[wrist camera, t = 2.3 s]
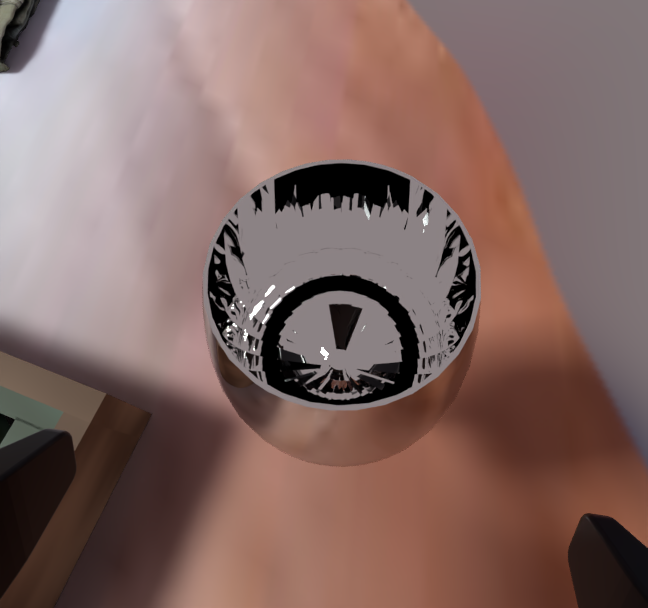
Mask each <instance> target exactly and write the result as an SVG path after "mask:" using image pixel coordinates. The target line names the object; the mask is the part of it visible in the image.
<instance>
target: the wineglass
mask: <svg viewBox="0 0 648 608" xmlns="http://www.w3.org/2000/svg"><path fill="white" fill-rule="evenodd" d="M202 303H203V319H204V329H205V335H206V341H207V345H208V349H209V354H210V358H211V362H212V365H213V367H214V370H215V373H216V375H217V378H218V380H219V383H220V386H221V388H222V390H223V392H224V393H225V395H226V396H227V398H228V399H229V401H230V403H231V404H232V406H233V407H234V409H235V410H236V412H237V414H238V415H239V417H240V418H241V419H242V420H243V421H244V422H245V423H246V424H247V425H248V426H249V427H250V428H251V429H252V430H253V431H254V432H255V433H256V434H258V435H259V436H260V437H261V438H262V439H263V440H264V441H266V442H267V443H269V444H270V445H272V446H273V447H275V448H276V449H278V450H280V451H281V452H283V453H285V454H287V455H289V456H291V457H294V458H297V459H299V460H302V461H305V462H309V463H313V464H318V465H324V466H334V467H348V466H359V465H365V464H369V463H374V462H378V461H380V460H383V459H386V458H389V457H391V456H393V455H395V454H397V453H400V452H402V451H404V450H405V449H407V448H408V447H410V446H411V445H413V444H414V443H415V442H417V441H418V440H419V439H421V438H422V437H423V436H425V435H426V434H427V433H428V432H429V431H430V430H431V429H432V428H433V427H434V426H435V425H436V424H437V423H438V422H439V421H440V420H441V418H442V417H443V415H444V414H445V413H446V411H447V410H448V409H449V407H450V406H451V404H452V403H453V402H454V400H455V399H456V397H457V395H458V392H459V390H460V388H461V386H462V383H463V381H464V379H465V376H466V374H467V372H468V370H469V367H470V364H471V360H472V356H473V352H474V348H475V344H476V340H477V336H478V330H479V318H480V306H481V281H480V265H479V261H478V258H477V255H476V251H475V248H474V244H473V241H472V239H471V237H470V235H469V233H468V232H467V230H466V228H465V227H464V225H463V223H462V221H461V220H460V218H459V216H458V215H457V214H456V213H455V212H454V210H453V209H452V208H451V207H450V206H449V205H448V204H447V203H446V202H445V201H444V200H443V199H442V198H441V197H440V196H439V195H438V194H437V193H436V192H434V191H433V190H431V189H430V188H429V187H427V186H426V185H424V184H423V183H421V182H420V181H418V180H417V179H415V178H414V177H412V176H410V175H408V174H406V173H404V172H401V171H399V170H396V169H393V168H391V167H388V166H385V165H380V164H376V163H372V162H366V161H357V160H325V161H319V162H313V163H307V164H303V165H300V166H297V167H294V168H291V169H288V170H285V171H282V172H280V173H278V174H277V175H275V176H273V177H271V178H269V179H267V180H265V181H263V182H261V183H260V184H259V185H257V186H256V187H255V188H253V189H252V190H251V191H250V192H248V193H247V194H246V195H245V196H243V197H242V198H241V199H240V200H239V201H238V202H237V203H236V204H235V206H234V207H233V208H232V209H231V210H230V212H229V213H228V214H227V215H226V216H225V217H224V219H223V220H222V222H221V224H220V226H219V228H218V230H217V232H216V234H215V235H214V237H213V239H212V241H211V243H210V246H209V250H208V254H207V259H206V263H205V267H204V271H203V284H202Z"/></svg>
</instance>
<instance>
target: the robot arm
mask: <svg viewBox="0 0 648 608" xmlns="http://www.w3.org/2000/svg"><path fill="white" fill-rule="evenodd" d="M76 469H77V464H76V458H75V451H74V445H73V439H72V436H71V434H70V433H69V432H67V431H64V430H58V429H51V428H47V429H43V430H41V431H38V432H36V433H34V434H32V435H29V436H27V437H25V438H23V439H20V440H18V441H16V442H13V443H11V444H9V445H7V446H4V447H2V448H0V600H1V598H2V597H3V595H4V594H5V592H6V591H7V589H8V588H9V587H10V585H11V584H12V582H13V581H14V579H15V578H16V577H17V575H18V574H19V572H20V571H21V569H22V568H23V566H24V565H25V563H26V562H27V560H28V558H29V557H30V555H31V553H32V552H33V550H34V548H35V547H36V545H37V543H38V542H39V540H40V538H41V536H42V534H43V533H44V531H45V529H46V527H47V526H48V524H49V522H50V520H51V519H52V517H53V515H54V513H55V512H56V510H57V508H58V506H59V505H60V503H61V501H62V499H63V498H64V496H65V494H66V492H67V491H68V489H69V487H70V485H71V483H72V482H73V480H74V477H75V475H76ZM568 562H569V567H570V572H571V576H572V581H573V585H574V590H575V594H576V599H577V603H578V608H648V548H647V547H646V546H645V545H643V544H642V543H641V542H640V541H639V540H638V539H637V538H635V537H634V536H633V535H632V534H631V533H630V532H629V531H627V530H626V529H625V528H624V527H623V526H622V525H621V524H619V523H618V522H617V521H616V520H615V519H613V518H611V517H608V516H603V515H597V514H591V513H587V514H584V515H583V516H582V517H581V519H580V521H579V524H578V526H577V528H576V531H575V533H574V536H573V538H572V541H571V543H570V546H569V550H568Z"/></svg>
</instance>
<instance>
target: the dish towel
mask: <svg viewBox="0 0 648 608" xmlns="http://www.w3.org/2000/svg"><path fill="white" fill-rule="evenodd" d="M39 1H40V0H0V72H4V71H7V70H9V67H8V66H6V65H5V64H4V61H5V59H6V57H7V55H8V53H9V51H10V49H11V47H12V46H13V45H14V46H15V47H17V46H18V44H19V41H17V40H18V35H19V34H20V33H21V32H22V31H23V30H24V29H25V28H26V26H27V24H28V21H29V18H30V17H31V16H32V15H33V14H34V12H35V10H36V8H37V5H38V3H39Z"/></svg>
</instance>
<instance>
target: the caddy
mask: <svg viewBox="0 0 648 608" xmlns="http://www.w3.org/2000/svg"><path fill="white" fill-rule="evenodd" d="M4 415H6V416H8V417H10V418H13V419H15V421H14V423H13V424H12V426H11V428H10V426H9V424H8V422H7V420H6V418H5V416H4ZM150 416H151V413H148V412H146V411H144V410H142V409H139V408H137V407H135V406H133V405H131V404H128V403H126V402H124V401H122V400H119V399H117V398H115V397H113V396H111V395H108V394H106V393H104V392H101V391H99V390H96V389H94V388H91V387H89V386H86V385H84V384H81V383H79V382H76V381H74V380H71V379H69V378H66V377H64V376H61V375H59V374H56V373H54V372H51V371H49V370H46V369H44V368H41V367H39V366H36V365H34V364H31V363H29V362H26V361H24V360H21V359H19V358H16V357H14V356H11V355H9V354H6V353H4V352H1V351H0V448H2V447H4V446H7V445H9V444H11V443H13V442H16V441H18V440H20V439H23V438H25V437H27V436H29V435H32V434H34V433H36V432H38V431H41V430H43V429H47V428H51V429H58V430H64V431H67V432H69V433H70V434H71V436H72V439H73V445H74V451H75V458H76V464H77V469H76V475H75V477H74V480H73V482H72V483H71V485H70V487H69V489H68V491H67V492H66V494H65V496H64V498H63V499H62V501H61V503H60V505H59V506H58V508H57V510H56V512H55V513H54V515H53V517H52V519H51V520H50V522H49V524H48V526H47V527H46V529H45V531H44V533H43V534H42V536H41V538H40V540H39V542H38V543H37V545H36V547H35V548H34V550H33V552H32V553H31V555H30V557H29V558H28V560H27V562H26V563H25V565H24V566H23V568H22V569H21V571H20V572H19V574H18V575H17V577H16V578H15V579H14V581H13V582H12V584H11V585H10V587H9V588H8V589H7V591H6V592H5V594H4V595H3V597H2V598H1V600H0V608H54V606H55V604H56V602H57V600H58V598H59V596H60V594H61V592H62V590H63V588H64V586H65V584H66V582H67V580H68V578H69V576H70V574H71V572H72V570H73V568H74V566H75V564H76V562H77V560H78V559H79V557H80V555H81V553H82V551H83V549H84V547H85V545H86V543H87V541H88V539H89V537H90V535H91V533H92V531H93V529H94V527H95V525H96V523H97V521H98V519H99V517H100V515H101V513H102V511H103V509H104V507H105V505H106V503H107V501H108V499H109V497H110V495H111V493H112V491H113V489H114V487H115V485H116V484H117V482H118V480H119V478H120V476H121V474H122V472H123V470H124V468H125V466H126V464H127V462H128V460H129V458H130V456H131V454H132V452H133V450H134V448H135V446H136V444H137V442H138V440H139V438H140V436H141V434H142V432H143V430H144V428H145V426H146V424H147V422H148V420H149V418H150Z"/></svg>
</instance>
